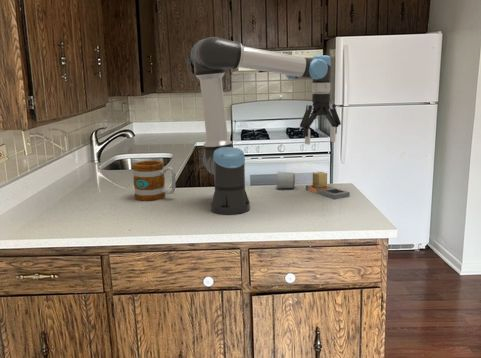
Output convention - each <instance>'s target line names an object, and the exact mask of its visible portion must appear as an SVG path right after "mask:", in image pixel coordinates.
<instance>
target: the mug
mask: <svg viewBox="0 0 481 358" xmlns="http://www.w3.org/2000/svg"><path fill="white" fill-rule="evenodd" d="M164 163H165V162H164V161H160V160H143V161H137V162H136V161H135V162H134V163H132V170H133V188H134V200H136V201H139V202H155V201H159V200H160V201H161V200H164V199H165V198H166V194H167V195H172V194H174V193H175V190H176V170H175V168H173V167H172V166H168V167H165V168H164V166H165V165H164ZM168 170H169V171H171V191H170V190H167V189H166V188H165V183H166V182H165V173H167V172H168Z"/></svg>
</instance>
